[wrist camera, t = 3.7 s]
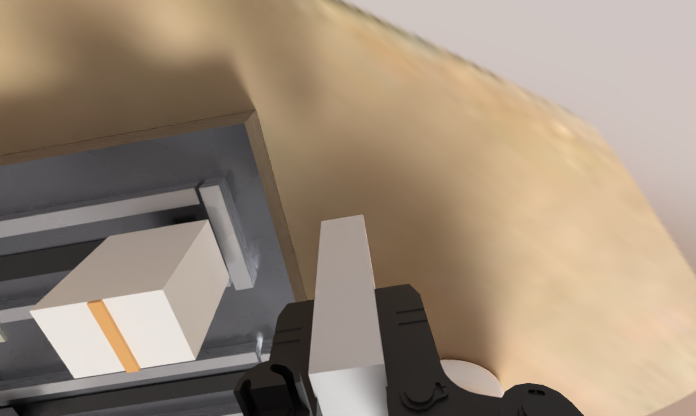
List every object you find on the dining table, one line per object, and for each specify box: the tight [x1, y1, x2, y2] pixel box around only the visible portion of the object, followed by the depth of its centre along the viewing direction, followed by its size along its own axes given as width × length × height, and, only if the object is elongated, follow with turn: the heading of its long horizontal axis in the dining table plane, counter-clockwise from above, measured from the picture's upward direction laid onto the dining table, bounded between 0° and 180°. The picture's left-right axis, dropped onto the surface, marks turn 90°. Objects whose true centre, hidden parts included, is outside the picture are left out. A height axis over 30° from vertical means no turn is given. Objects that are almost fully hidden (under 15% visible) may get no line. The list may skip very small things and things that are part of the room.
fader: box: [29, 220, 230, 378], centre depth 14 cm, size 4×3×6 cm
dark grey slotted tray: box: [0, 110, 307, 416], centre depth 20 cm, size 24×18×4 cm
